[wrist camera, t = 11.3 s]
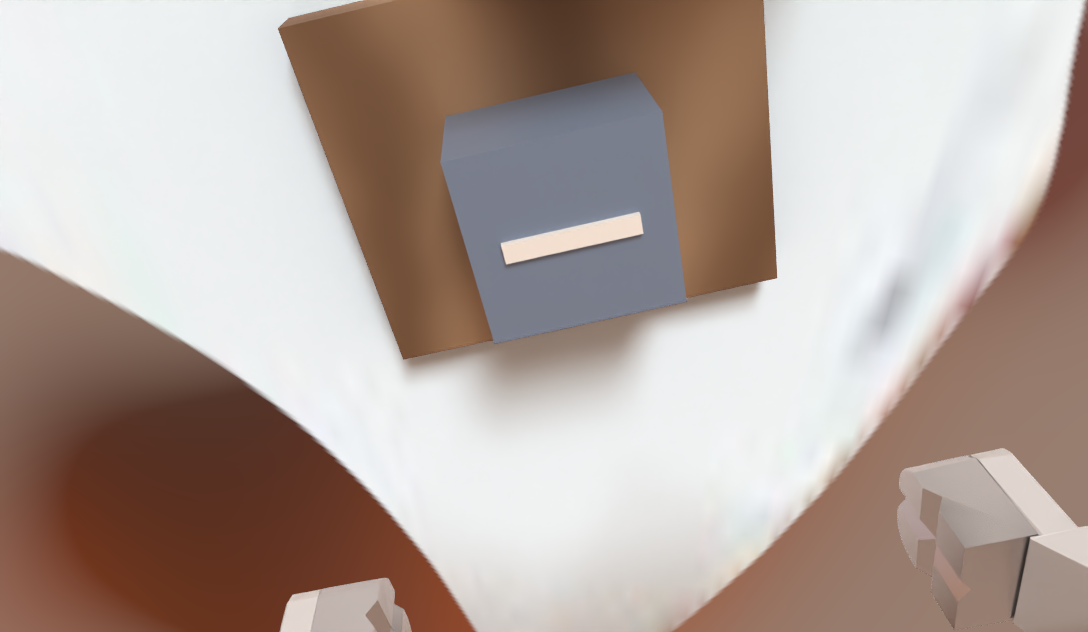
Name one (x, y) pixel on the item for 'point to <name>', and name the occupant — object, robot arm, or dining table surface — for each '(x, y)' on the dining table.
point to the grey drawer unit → (566, 206)
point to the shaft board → (515, 73)
